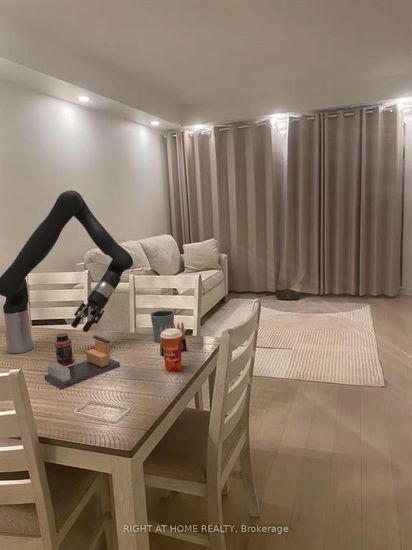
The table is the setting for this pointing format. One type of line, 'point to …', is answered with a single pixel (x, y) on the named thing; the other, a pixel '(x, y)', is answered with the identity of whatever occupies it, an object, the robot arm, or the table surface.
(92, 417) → the phone case
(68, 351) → the supplement bottle
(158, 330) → the green embossed pot
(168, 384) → the table surface
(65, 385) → the base
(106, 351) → the sliding jaw
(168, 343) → the paper cup
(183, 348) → the ammunition clip
